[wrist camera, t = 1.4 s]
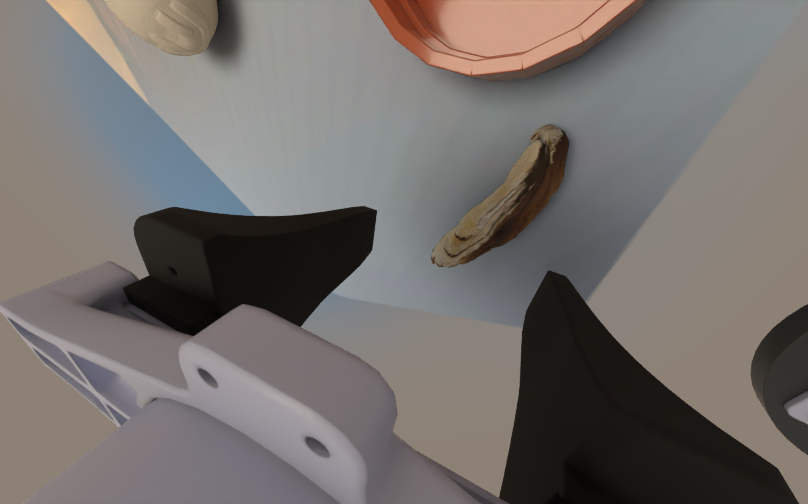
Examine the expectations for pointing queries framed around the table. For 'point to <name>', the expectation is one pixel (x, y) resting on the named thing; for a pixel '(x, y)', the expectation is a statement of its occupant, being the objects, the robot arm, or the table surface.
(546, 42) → the bowl
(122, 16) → the cream ball
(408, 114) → the table surface
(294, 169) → the table surface
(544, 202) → the oyster shell
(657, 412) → the robot arm
